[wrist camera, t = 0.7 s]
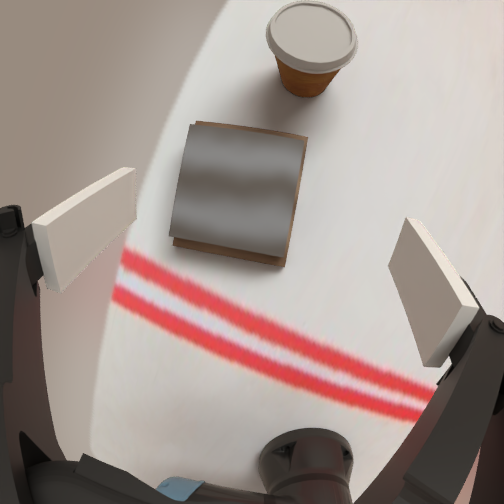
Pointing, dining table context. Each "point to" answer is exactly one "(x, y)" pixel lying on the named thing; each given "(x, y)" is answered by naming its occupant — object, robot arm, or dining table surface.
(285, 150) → the grey block on wood
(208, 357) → the dining table surface
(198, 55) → the dining table surface
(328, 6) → the disposable coffee cup
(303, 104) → the dining table surface
